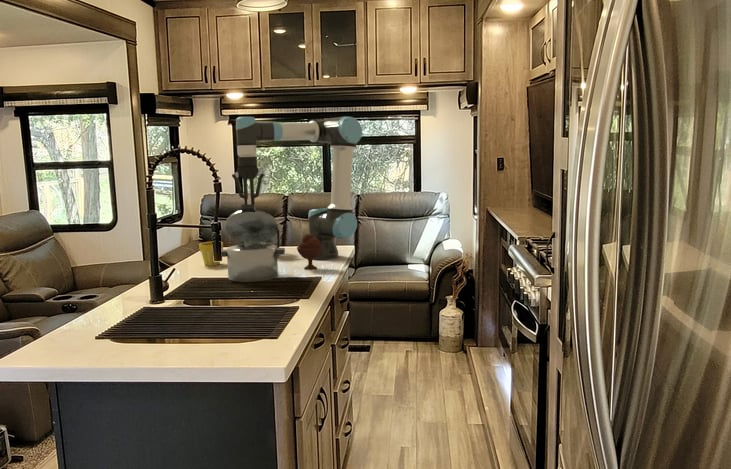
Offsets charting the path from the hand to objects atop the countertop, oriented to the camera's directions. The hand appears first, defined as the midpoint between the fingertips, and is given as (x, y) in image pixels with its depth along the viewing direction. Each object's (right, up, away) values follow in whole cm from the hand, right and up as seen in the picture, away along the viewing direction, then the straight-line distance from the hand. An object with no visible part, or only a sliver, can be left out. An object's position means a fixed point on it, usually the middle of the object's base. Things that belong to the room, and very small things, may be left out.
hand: (250, 214), depth 248 cm
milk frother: (-3, -18, +51) cm, 54 cm away
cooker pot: (+1, -25, +2) cm, 25 cm away
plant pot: (-23, -22, +31) cm, 44 cm away
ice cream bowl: (+23, -23, +15) cm, 36 cm away
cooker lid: (0, -5, +2) cm, 5 cm away
